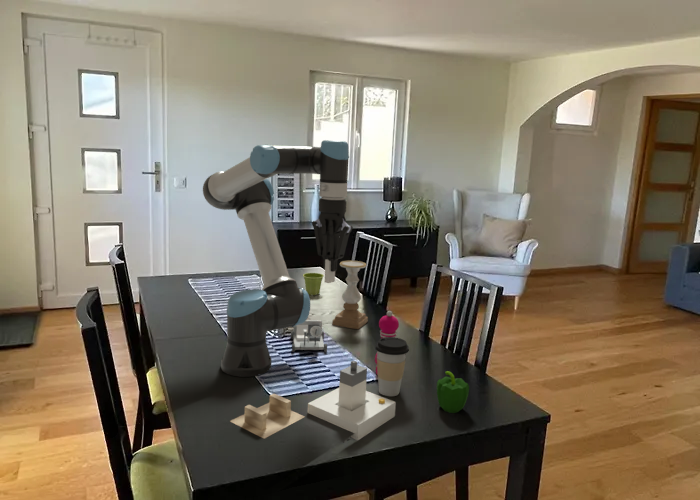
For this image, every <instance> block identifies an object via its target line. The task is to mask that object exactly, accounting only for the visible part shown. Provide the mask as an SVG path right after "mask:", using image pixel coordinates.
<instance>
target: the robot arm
mask: <svg viewBox="0 0 700 500" xmlns="http://www.w3.org/2000/svg"><path fill="white" fill-rule="evenodd" d="M349 147H350V146H349V143H348V142H347V141H346V140H345V141H344V140H326V139H325V140H322V141H321V142H320V146H319V147H318V146H311V145H302V146H301V145H278V144H276V145H274V144H259V145H258V144H257V145H256V146H254V147H253V148H252V151H251V152H250V154H249V155H250V156H249V157H248V158H246V159H244V160H241V162H239V163H237V164H235V165H234V166H232V167H230V168H228V169H227V170H225V171H217V172H215V173H213V174H211V175H209V176H208V177H207V178H205V180H204V183H203V186H202V195H203V197H204V199H205V202H207V203H208V204H209V205H210V206H212V207H213V208H215V209H218V210H223V211H225V210H226V211H227V210H229V211H231V210H235V212H236V214H237V218H238V219H240V220H242V221H243V222H244V226H245V229H246V231H247V236H248V238H249V241H250V246H251V248H252V251H253V254H254V258H255V261H256V265H257V267H258V271H259V274H260V276H261V280H262V283H263V286H262V288H261V289H257V288H253V289H249V288H248V289H242V290H240V291H237V292H234V293H233V294H231V296H229V298H228V300H227V307H226V308H227V309H226V322H227V323H226V334H227V335H226V337H227V338H226V339H227V343H226V347H225V349H224V353H223V356H222V357H221V361H220V363H221V364H220V365H221V367H220V368H221V369H220V370H222V372H223V373H225V374H227V375H230V376H233V377H242V378H244V377H245V378H249V377H256V376H261V375H263V374H265V373H268V372H269V371H270V370H271V369H272V357H271V355H270V351H269V347H268V345H267V333H268V332H272V331H276V330H280V329H284V328H289V327H290V328H293V327H294V326H295V325H299V324H302V323H304V322H305V321H306V320H308V318H309V315H310V311H311V298H310V295H309V294H308V293H307V291H306V288H303V287H300V286H298V283H297V281H296V279H294V278H292V277H291V276H290V274H289V270H288V268H287V264H286V262H285V259H284V255H283V253H282V249H281V247H280V243H279V240H278V238H277V237H278V236H277V235H276V230H275V228H274V225H273V222H272V219H271V216H270V211H271V210H272V205H273V203H274V199H275V196H274V195H275V193H274V187H273V185H272V183H271V180H269V178H271V177H274V176H276V175H280V174H282V175H283V174H290V175H292V174H294V175H296V174H298V175H299V174H302V175H303V174H304V175H305V174H313V175H319V193H318V194H319V197H321V198H319V199H318V211H319V212H320V213H319V215H318V218H317V219H316V220H313V221H311V226H312V228H313V230H314V231H313V232H314V237H315V243H316V251H317V255H318V256H319V257H322V259H323V264H322V265H323V270H324V283H325V284H326V283H327V284H331V283H335V282H336V272H337V270H338V260H339V259H343V258H344V257H345V253H346V250H347V249H346V248H347V246H348V241H349V237H350V233H351V232H352V230H353V229H354V227H353V226H352V225H349V224H348V223H347V222H346V219H347V218H346V216H345V215H346V212H347V202H348V200H347V199H345V198H347V197H348V177H349V160H350V159H349V158H350V156H349V150H350V149H349Z"/></svg>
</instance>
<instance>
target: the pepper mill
mask: <svg viewBox="0 0 700 500" xmlns="http://www.w3.org/2000/svg"><path fill="white" fill-rule="evenodd" d="M399 327H400V323H399V319H398V318H397V317H396V316H394V315H393V311H391V310H388V311H387V312H386V315H383V316H382V317H381V318H380V319H379V321H378V328H379V329H380V330H379V333H380V334H379V336H380V339H381V338H385V337H395V338H397V333H398V332H397V330H398V329H399ZM374 363H375V365H376V366H375V374H376V375H377V376H378V373H377V352H376V354H375V356H374Z"/></svg>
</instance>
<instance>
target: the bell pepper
mask: <svg viewBox="0 0 700 500" xmlns="http://www.w3.org/2000/svg"><path fill="white" fill-rule="evenodd" d="M445 375H446V376H444V377H443V378H439V379H438V380H437V382H436V396H437V401H438V405H439V406H440V408H442V410H443V411H444V412H446V413H449V414H456V413H459V412H460V411H461V410H463V409H464V407H465V405H466V403H467V400H468V397H469V393H470V385H469V383H467V382H465V380H464V379H463V378H461V377H460V378H458V377H457V378H455V375H454V374H453V373H452V372H451V371H450V370H449V371H448V370H447V371H445Z"/></svg>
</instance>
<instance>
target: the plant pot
mask: <svg viewBox="0 0 700 500" xmlns="http://www.w3.org/2000/svg"><path fill="white" fill-rule="evenodd" d="M302 276H303V279H304V285H305V286H304V288H305V290H306V291H307V293H308V295H309V296H316V295H319V294H320V291H321V286H322V282H323V279H324V278H325V274H322V273H319V272H306V273H303V275H302Z"/></svg>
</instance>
